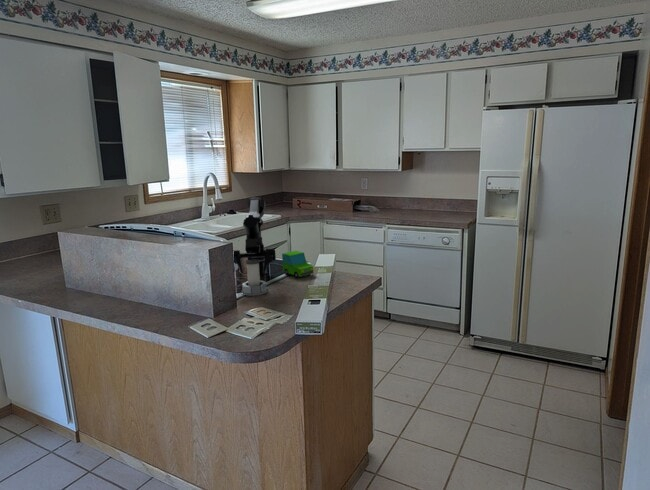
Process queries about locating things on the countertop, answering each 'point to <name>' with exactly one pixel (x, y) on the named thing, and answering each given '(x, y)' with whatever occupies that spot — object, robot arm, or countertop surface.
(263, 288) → the grey octagonal ring
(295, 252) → the toy car
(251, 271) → the white cylinder
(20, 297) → the countertop surface
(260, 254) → the robot arm
